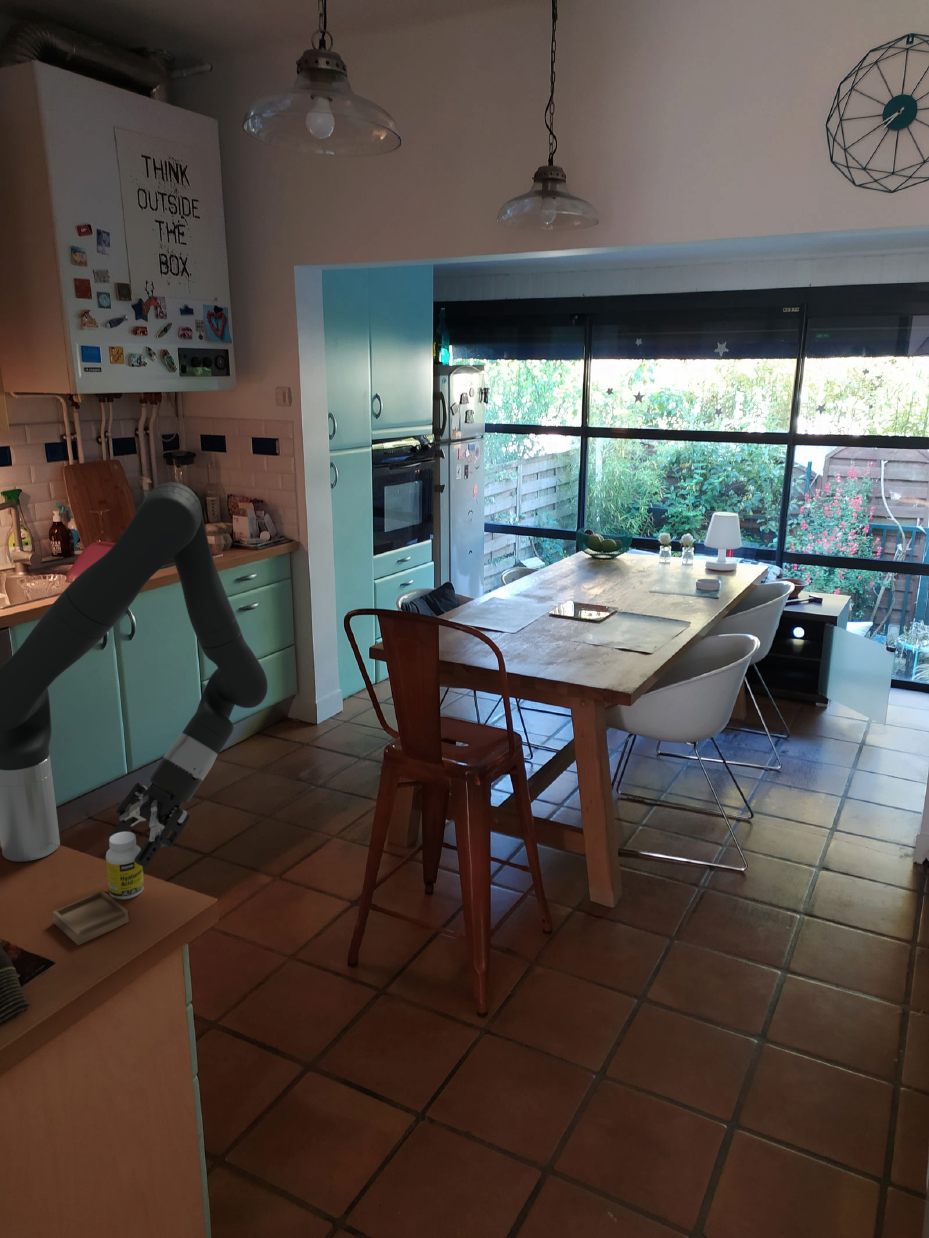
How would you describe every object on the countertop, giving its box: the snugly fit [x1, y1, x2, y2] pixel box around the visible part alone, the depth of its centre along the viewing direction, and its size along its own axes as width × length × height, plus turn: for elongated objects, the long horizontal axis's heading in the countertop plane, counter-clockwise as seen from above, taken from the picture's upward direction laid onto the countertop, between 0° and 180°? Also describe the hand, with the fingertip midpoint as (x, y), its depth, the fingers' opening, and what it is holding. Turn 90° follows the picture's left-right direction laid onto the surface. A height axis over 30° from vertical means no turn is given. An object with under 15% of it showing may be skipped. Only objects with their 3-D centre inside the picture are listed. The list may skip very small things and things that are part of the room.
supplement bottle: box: [105, 831, 145, 900], centre depth 147 cm, size 5×5×10 cm
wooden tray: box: [52, 890, 130, 946], centre depth 140 cm, size 8×8×2 cm
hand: (125, 854), depth 147 cm, fingers open, 8 cm apart
